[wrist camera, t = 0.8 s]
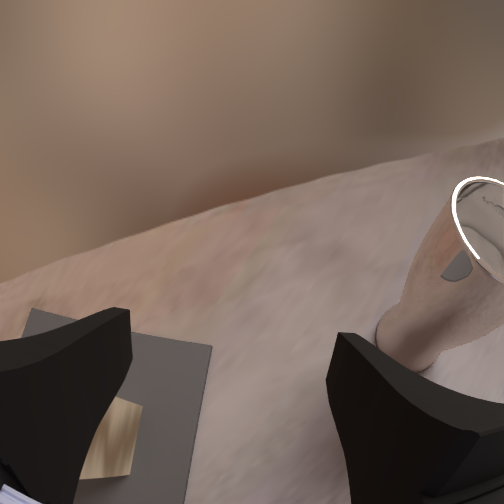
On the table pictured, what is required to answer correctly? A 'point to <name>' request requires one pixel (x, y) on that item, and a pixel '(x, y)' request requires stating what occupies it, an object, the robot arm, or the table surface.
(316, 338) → the table surface
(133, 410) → the birch block
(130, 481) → the rubber mat
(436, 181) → the table surface
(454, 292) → the beer glass
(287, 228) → the table surface
